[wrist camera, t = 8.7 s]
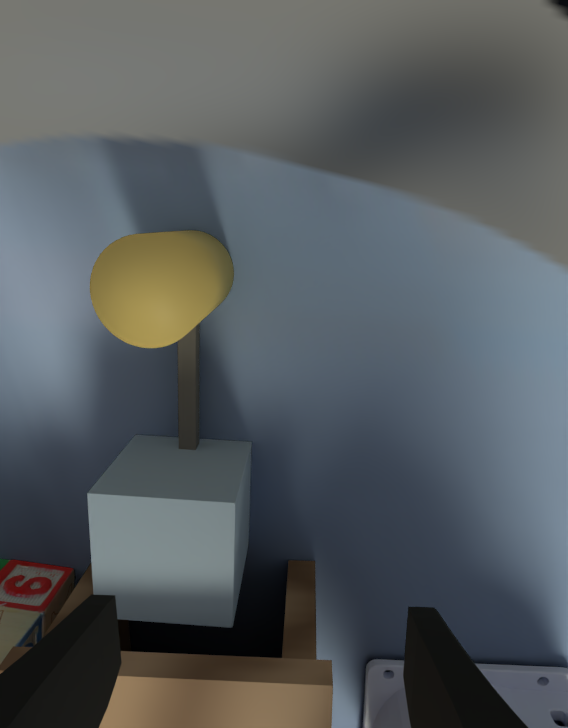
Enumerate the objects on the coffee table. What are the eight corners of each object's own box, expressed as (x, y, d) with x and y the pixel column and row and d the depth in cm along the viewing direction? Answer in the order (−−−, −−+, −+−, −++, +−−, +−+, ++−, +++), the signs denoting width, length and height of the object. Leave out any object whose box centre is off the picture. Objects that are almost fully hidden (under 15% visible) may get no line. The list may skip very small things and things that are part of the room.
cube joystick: (258, 233, 20) (236, 238, 14) (248, 544, 23) (228, 649, 18) (128, 227, 20) (54, 229, 14) (138, 536, 24) (83, 638, 18)
